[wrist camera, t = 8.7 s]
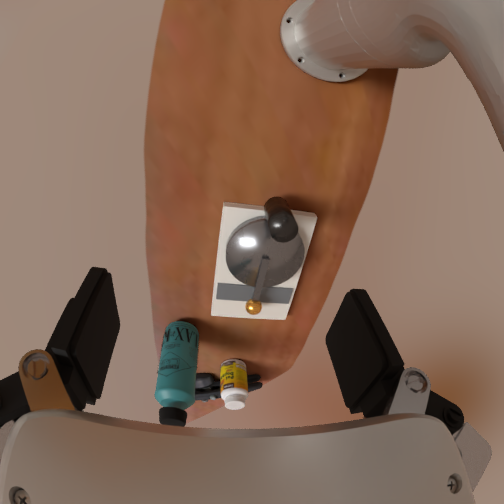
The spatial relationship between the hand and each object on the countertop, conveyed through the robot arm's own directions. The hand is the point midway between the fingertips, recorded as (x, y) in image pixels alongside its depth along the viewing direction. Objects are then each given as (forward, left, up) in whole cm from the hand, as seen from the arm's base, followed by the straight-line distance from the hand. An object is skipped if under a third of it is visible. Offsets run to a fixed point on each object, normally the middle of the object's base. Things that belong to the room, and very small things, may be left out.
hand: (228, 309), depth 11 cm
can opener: (+38, +33, -29) cm, 58 cm away
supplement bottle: (+32, +31, -28) cm, 53 cm away
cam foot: (+7, +14, -27) cm, 31 cm away
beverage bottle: (+29, +16, -28) cm, 44 cm away
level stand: (+10, +16, -28) cm, 34 cm away
